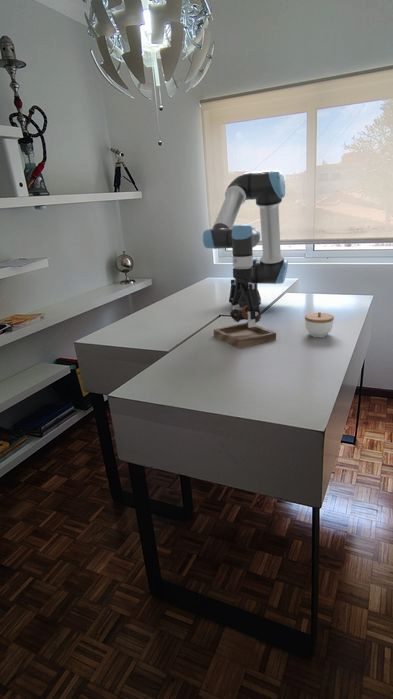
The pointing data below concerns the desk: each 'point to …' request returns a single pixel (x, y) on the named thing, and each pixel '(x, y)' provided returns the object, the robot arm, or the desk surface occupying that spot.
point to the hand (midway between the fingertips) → (243, 323)
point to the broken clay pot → (244, 314)
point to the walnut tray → (244, 335)
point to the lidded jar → (319, 324)
